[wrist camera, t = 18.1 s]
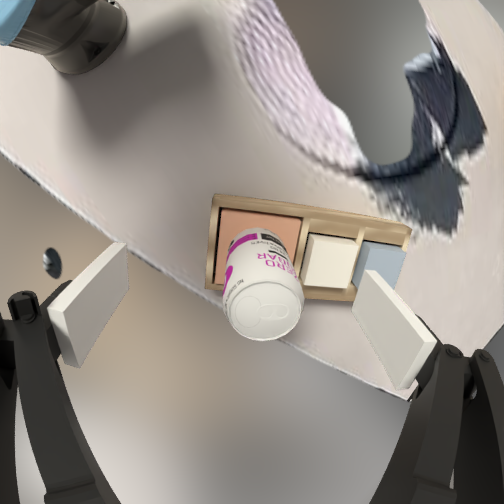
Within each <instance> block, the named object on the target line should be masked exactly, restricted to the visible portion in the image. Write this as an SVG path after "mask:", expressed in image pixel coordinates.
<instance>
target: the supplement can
mask: <svg viewBox="0 0 504 504" xmlns="http://www.w3.org/2000/svg"><path fill="white" fill-rule="evenodd" d="M303 306H304V294H303V291H302V287H301V285H300V282H299V280H298V277H297V275H296V272H295V270H294V267H293V265H292V263H291V260H290V258H289V255H288V253H287V251H286V248H285V246H284V243H283V241H282V240H281V239H280V238H279V236H278V235H277V234H275V233H274V232H272V231H270V230H269V229H265V228H259V227H256V228H250V229H246V230H244V231H242V232H240V233H239V234H237V235H236V236H235V238H234V239H233V240H232V241H231V243H230V245H229V248H228V251H227V260H226V270H225V280H224V289H223V312H224V314H225V316H226V318H227V320H228V322H229V323H231V325H232V327H233V328H234V329H235V330H236V331H237V332H238V333H239V334H240V335H242V336H244V337H246V338H248V339H251V340H257V341H269V340H275V339H277V338H280V337H282V336H284V335H286V334H287V333H288V332H290V331H291V330H292V329H293V328H294V327H295V326H296V324H297V322H298V320H299V318H300V314H301V313H302V311H303Z"/></svg>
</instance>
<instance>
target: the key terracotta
mask: <svg viewBox="0 0 504 504" xmlns="http://www.w3.org/2000/svg"><path fill="white" fill-rule="evenodd" d="M300 224H301V221H300V220H299V218H298V217H297V216H291V215H284V214H276V213H268V212H260V211H252V210H244V209H236V208H227V207H223V209H222V214H221V223H220V233H219V243H218V253H217V264H216V275H215V283H216V284H224V280H225V270H226V260H227V251H228V248H229V245H230V243H231V241H232V240H233V239H234V238H235V236H236V235H237V234H239V233H240V232H242V231H244V230H246V229H250V228H256V227H259V228H265V229H269V230H270V231H272V232H274V233H275V234H277V235H278V236H279V238H280V239H281V240H282V241H283V243H284V246H285V248H286V251H287V253H288V255H289V258H290V260H291V263H292V264H293V259H294V254H295V249H296V244H297V239H298V234H299V229H300Z"/></svg>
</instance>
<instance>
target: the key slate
mask: <svg viewBox="0 0 504 504" xmlns="http://www.w3.org/2000/svg"><path fill="white" fill-rule="evenodd" d="M405 255H406V252H404V251H403V250H402V249H401V248H399V247H398V246H393V245H387V244H380V243H373V242H367V241H363V242H362V245H361V249H360V253H359V256H358V260H357V264H356V267H355V270H354V274H353V277H352V282H353V283H354V285H355V286H356V287H357V289H359V285H360V282H361V279H362V276H363V273H364V269H365V270H374V271H376V272H377V273H378V274H379V275H380V276H381V277H382V278H383V279H384V280H385V281H386V282H387V283H388V284H389V286H390V287H391V288H392V289H393V290H394V288H395V285H396V282H397V280H398V277H399V274H400V271H401V268H402V265H403V262H404V259H405Z"/></svg>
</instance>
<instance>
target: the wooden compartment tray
mask: <svg viewBox="0 0 504 504" xmlns="http://www.w3.org/2000/svg"><path fill="white" fill-rule="evenodd" d="M220 207H227V208H236V209H244V210H252V211H260V212H268V213H276V214H284V215H291V216H297V217H298V218H299V220H300V221H301V224H300V229H299V234H298V239H297V244H296V249H295V254H294V259H293V264H292V265H293V267H294V270H295V272H296V275H297V277H298V280H299V282H300V285H301V287H302V291H303V294H304V298H308V299H322V300H338V301H355V298H356V295H357V292H358V289H357V287H356V286H355V285H354V283H353V282H352V277H353V273H354V269H355V266H356V262H357V259H358V255H359V251H360V248H361V244H362V240H363V239H364V240H371V241H378V242H384V243H390V245H393V246H398V247H399V248H401V249H402V250H403V251H404V252H406V249H407V246H408V242H409V239H410V235H411V232H412V229H411V228H409V227H408V226H406V225H404V224H403V223H401V222H397V221H392V220H387V219H382V218H376V217H371V216H366V215H360V214H355V213H349V212H343V211H338V210H332V209H326V208H319V207H313V206H307V205H300V204H293V203H286V202H279V201H272V200H264V199H256V198H248V197H240V196H231V195H222V194H214V196H213V198H212V207H211V217H210V228H209V239H208V251H207V264H206V278H205V289H211V290H220V291H223V289H224V284H216V283H215V275H216V273H215V272H214V264H215V253H216V242H217V232H218V222H219V213H220ZM308 232H315V233H322V234H330V235H337V236H344V237H346V239H352V240H353V241H354V242H355V243H356V244H357V245H358V246H359V248H358V251H357V255H356V259H355V262H354V266H353V269H352V273H351V276H350V279H349V283H348V286H347V288H334V287H322V286H310V285H304V284H303V281H302V279H301V277H300V275H301V270H300V267H301V263H302V258H303V253H304V249H305V244H306V239H307V234H308Z"/></svg>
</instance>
